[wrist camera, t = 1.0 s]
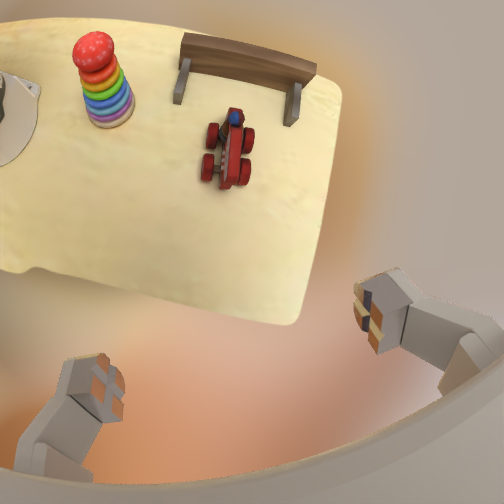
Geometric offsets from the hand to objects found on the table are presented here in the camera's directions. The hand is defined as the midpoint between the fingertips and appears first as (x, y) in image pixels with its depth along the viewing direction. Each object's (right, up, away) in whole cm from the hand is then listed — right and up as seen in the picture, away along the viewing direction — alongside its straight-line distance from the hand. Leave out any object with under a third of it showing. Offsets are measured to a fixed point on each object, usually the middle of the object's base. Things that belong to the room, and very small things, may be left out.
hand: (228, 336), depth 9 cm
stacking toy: (-22, +26, +31) cm, 46 cm away
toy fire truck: (-3, +17, +36) cm, 40 cm away
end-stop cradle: (-2, +29, +36) cm, 46 cm away
